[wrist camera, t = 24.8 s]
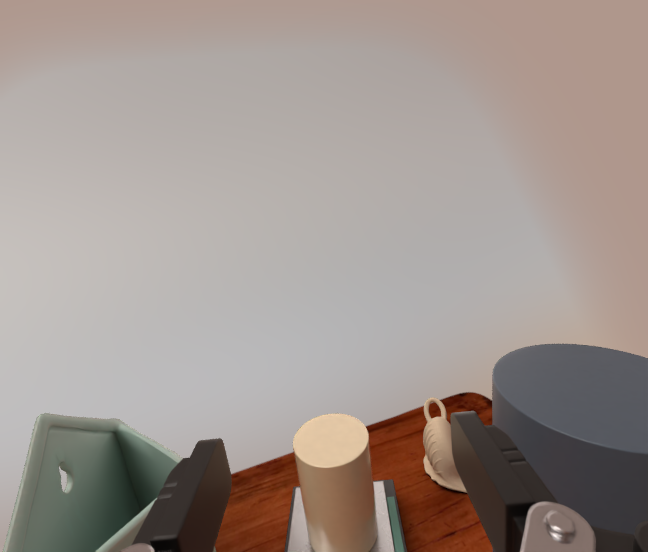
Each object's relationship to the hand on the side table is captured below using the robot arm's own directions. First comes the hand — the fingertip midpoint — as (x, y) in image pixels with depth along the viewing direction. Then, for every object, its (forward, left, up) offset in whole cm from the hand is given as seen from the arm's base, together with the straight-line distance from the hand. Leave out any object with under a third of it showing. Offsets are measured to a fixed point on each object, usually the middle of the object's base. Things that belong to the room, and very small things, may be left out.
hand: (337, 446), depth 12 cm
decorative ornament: (-10, -22, -22) cm, 33 cm away
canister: (+2, -13, -19) cm, 23 cm away
